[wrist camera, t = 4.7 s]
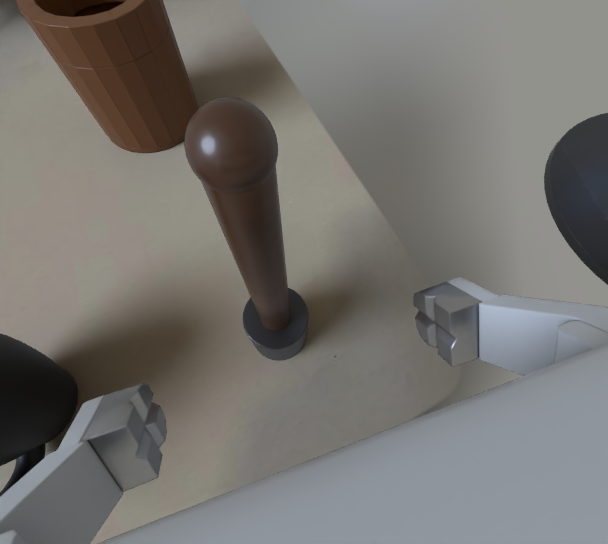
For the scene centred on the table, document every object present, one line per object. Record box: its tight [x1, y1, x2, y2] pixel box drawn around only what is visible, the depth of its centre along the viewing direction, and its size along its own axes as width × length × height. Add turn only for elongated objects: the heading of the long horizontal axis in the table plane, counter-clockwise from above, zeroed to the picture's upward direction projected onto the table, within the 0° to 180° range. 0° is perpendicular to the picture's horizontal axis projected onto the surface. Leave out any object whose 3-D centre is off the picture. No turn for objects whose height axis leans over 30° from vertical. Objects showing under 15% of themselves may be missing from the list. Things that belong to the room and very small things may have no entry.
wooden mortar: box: [16, 0, 198, 153], centre depth 30 cm, size 10×10×12 cm
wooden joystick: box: [185, 97, 308, 360], centre depth 17 cm, size 4×4×21 cm
